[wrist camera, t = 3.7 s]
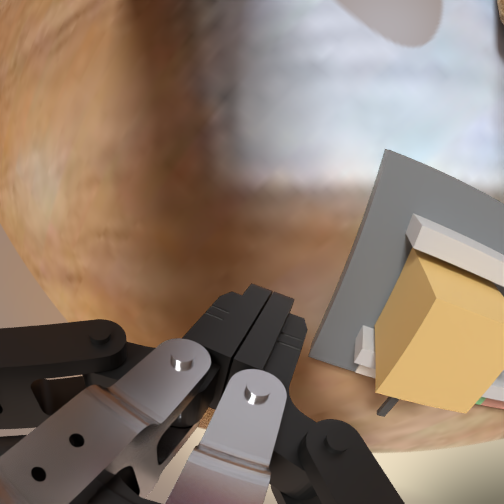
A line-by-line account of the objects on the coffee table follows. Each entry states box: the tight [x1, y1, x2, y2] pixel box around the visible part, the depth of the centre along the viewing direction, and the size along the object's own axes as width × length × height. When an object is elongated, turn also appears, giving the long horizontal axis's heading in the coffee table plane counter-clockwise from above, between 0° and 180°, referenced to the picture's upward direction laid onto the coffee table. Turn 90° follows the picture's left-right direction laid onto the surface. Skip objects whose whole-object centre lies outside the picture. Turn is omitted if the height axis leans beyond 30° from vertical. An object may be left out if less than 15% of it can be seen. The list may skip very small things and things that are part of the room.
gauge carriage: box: [375, 247, 504, 417], centre depth 11 cm, size 9×9×5 cm
